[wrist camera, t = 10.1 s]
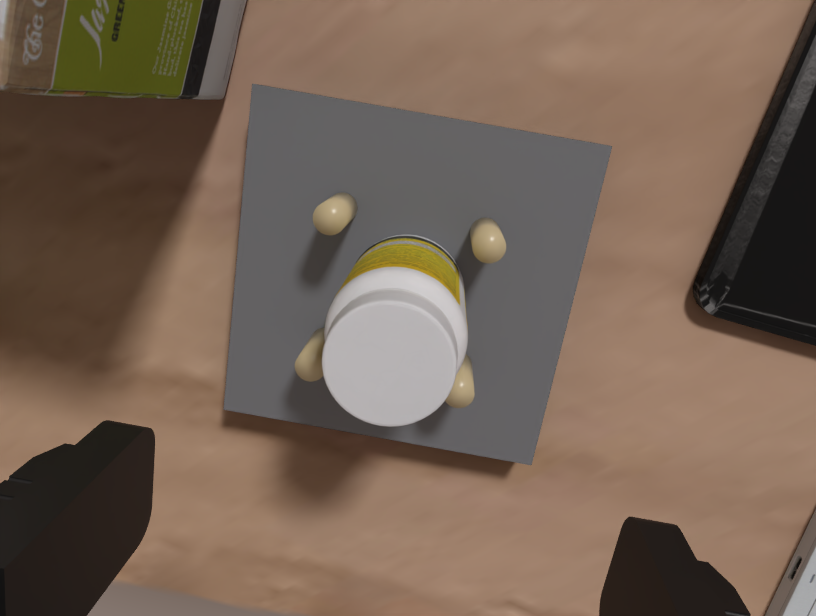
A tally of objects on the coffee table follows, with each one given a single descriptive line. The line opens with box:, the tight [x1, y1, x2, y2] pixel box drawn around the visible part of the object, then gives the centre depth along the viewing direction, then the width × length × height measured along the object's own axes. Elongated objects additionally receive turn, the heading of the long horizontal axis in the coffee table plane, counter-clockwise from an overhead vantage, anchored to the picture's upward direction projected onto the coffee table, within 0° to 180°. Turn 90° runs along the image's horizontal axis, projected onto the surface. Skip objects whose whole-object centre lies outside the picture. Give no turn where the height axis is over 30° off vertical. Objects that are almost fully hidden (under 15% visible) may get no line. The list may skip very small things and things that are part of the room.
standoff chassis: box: [224, 84, 612, 465], centre depth 26 cm, size 14×14×5 cm
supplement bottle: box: [322, 235, 468, 427], centre depth 22 cm, size 5×5×8 cm
